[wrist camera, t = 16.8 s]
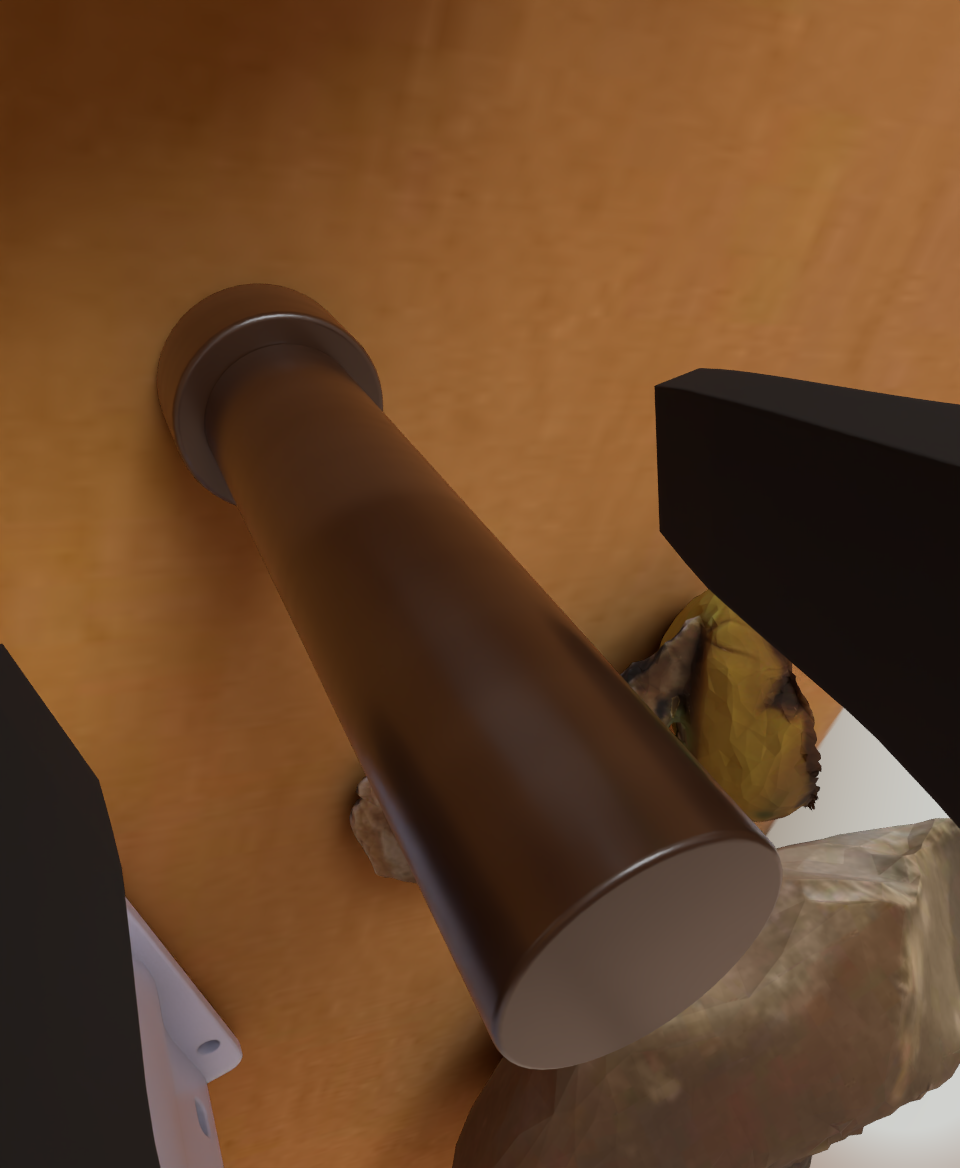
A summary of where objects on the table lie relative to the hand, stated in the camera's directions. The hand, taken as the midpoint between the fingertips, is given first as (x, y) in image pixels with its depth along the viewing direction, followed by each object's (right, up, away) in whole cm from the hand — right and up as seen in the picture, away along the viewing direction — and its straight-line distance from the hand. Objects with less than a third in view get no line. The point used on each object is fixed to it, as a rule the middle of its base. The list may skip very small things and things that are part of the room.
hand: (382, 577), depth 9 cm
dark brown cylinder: (-2, +3, +4) cm, 6 cm away
